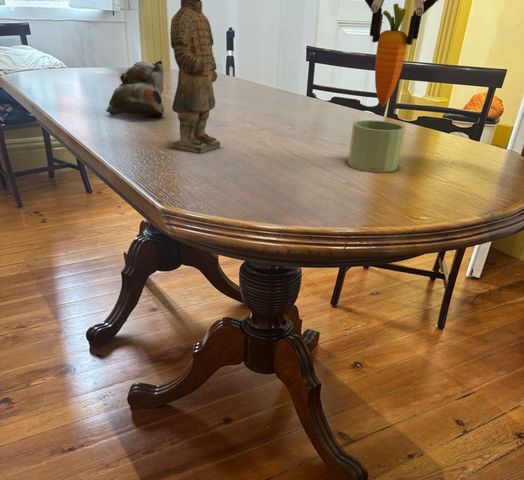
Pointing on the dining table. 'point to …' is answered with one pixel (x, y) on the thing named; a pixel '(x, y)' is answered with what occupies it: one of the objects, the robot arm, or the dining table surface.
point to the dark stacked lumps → (139, 91)
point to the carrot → (390, 56)
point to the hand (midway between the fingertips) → (392, 41)
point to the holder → (375, 145)
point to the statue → (193, 76)
